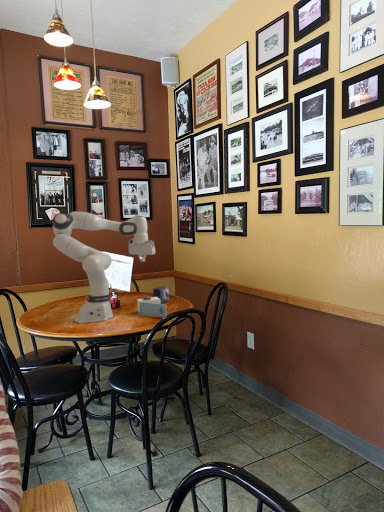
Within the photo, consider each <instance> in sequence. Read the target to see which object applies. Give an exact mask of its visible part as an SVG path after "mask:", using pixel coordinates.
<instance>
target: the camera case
mask: <svg viewBox="0 0 384 512" xmlns="http://www.w3.org/2000/svg"><path fill="white" fill-rule="evenodd" d="M136 302H137V304H136V306H137V312H138V313H139V314H140V315H142V314H141V311H140V302H147V303H156V304H162V303H161V300H160V299H159V298H158V297H153V296H151V295H147V296H146V295H145V296H142V298H137V299H136Z"/></svg>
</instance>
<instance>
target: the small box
mask: <svg viewBox="0 0 384 512" xmlns="http://www.w3.org/2000/svg"><path fill="white" fill-rule="evenodd" d="M152 290H153V296H152V297H158V298H159V299H160V300H161V304H164V303H168V302H169V301H170V289H169V286H163V285H162V286H161V285H160V286H158V287H154V288H153V289H152Z"/></svg>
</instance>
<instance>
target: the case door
mask: <svg viewBox="0 0 384 512" xmlns="http://www.w3.org/2000/svg"><path fill="white" fill-rule="evenodd" d="M140 311H141V314H140V315H144V316H151V317H158V318H165V316H167V317H168V315H167V304H164V303H161V304H156V303H147V302H140Z"/></svg>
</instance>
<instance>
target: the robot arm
mask: <svg viewBox="0 0 384 512" xmlns="http://www.w3.org/2000/svg"><path fill="white" fill-rule="evenodd" d="M51 222H52V230H53V233H54V238H53V241H52V245H53V246H54V247H55V248H56V250H58V252H60V253H62V254H63V255H65V256H67V257H68V258H70V259H72V260H73V261H74V262H75V261H76V262H78V263H82V264H81V265H82V267H81V268H82V269H83V271H84V272H85V273H86V275H87V279H88V283H89V292H90V293H89V295H86V296H85V299H86V300H87V302H86V303H85V304H83V305H82V306H81V307H80V308H79V310H78V316H76V317H75V318H74V321H76V322H75V323H77V322H78V323H77V324H84V323H85V324H86V323H94V322H104V321H107V320H110V319H111V318H113V317H114V313H113V310H112V307H111V294H110V287H109V280H108V279H107V276H106V273H105V271H106V270H107V269H109V267H110V266H111V265H112V258H111V256H110V255H109V254H107V253H105V252H102V251H100V250H98V249H96V248H94V247H90V246H88V245H86V244H84V243H83V242H81V241H79V240H78V239H75V238H74V237H72V236H73V230H75V229H80V230H84V231H85V230H86V231H100V230H101V231H102V230H109V231H113V232H119V233H120V234H121V235H122V236H124V237H130V236H133V238H131V239H129V240H128V254H129V255H134V256H135V255H138V256H137V257H138V258H139V262H146V258H147V256H149V255H150V256H151V255H152V256H153V255H155V254H156V248H155V242H154V241H153V240H149V235H148V221H147V218H146V217H145V216H143V215H133V217H131V218H130V219H127V220H125V221H115V220H110V219H107V218H104V217H101V216H99V215H98V214H94V213H91V212H85V211H71V212H70V213H67V212H66V213H64V212H62V213H56V214H55V215H54V216H53V217H52V221H51Z"/></svg>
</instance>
